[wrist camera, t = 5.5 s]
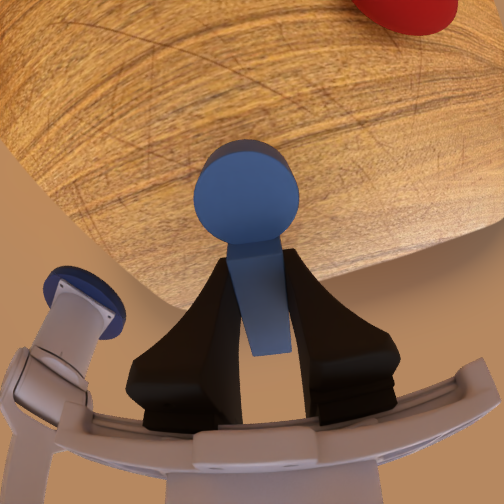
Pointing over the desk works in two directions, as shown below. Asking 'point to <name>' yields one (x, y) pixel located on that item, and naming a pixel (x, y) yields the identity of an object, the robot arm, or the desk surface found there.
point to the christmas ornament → (410, 14)
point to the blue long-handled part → (252, 233)
